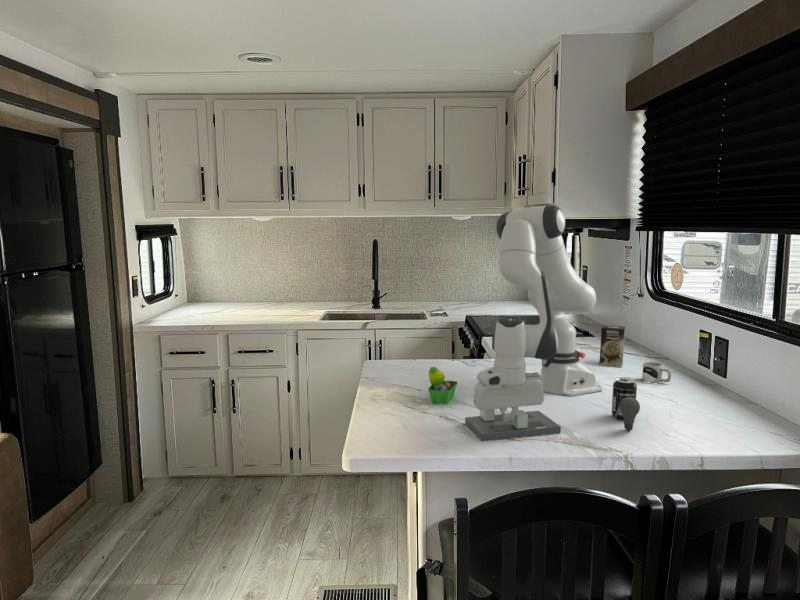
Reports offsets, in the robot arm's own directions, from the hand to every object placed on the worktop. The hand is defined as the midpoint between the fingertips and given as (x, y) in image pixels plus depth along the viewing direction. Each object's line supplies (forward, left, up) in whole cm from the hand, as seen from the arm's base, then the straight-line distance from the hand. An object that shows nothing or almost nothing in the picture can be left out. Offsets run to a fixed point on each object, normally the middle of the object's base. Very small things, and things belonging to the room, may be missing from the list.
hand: (508, 421), depth 170 cm
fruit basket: (+9, -35, -4) cm, 36 cm away
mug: (-74, -34, -4) cm, 81 cm away
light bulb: (-35, +6, -4) cm, 36 cm away
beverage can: (-40, -4, -4) cm, 40 cm away
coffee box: (-72, -60, -4) cm, 93 cm away
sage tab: (-3, 0, -2) cm, 4 cm away
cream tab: (+3, -8, -1) cm, 9 cm away
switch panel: (-3, -4, -4) cm, 6 cm away
